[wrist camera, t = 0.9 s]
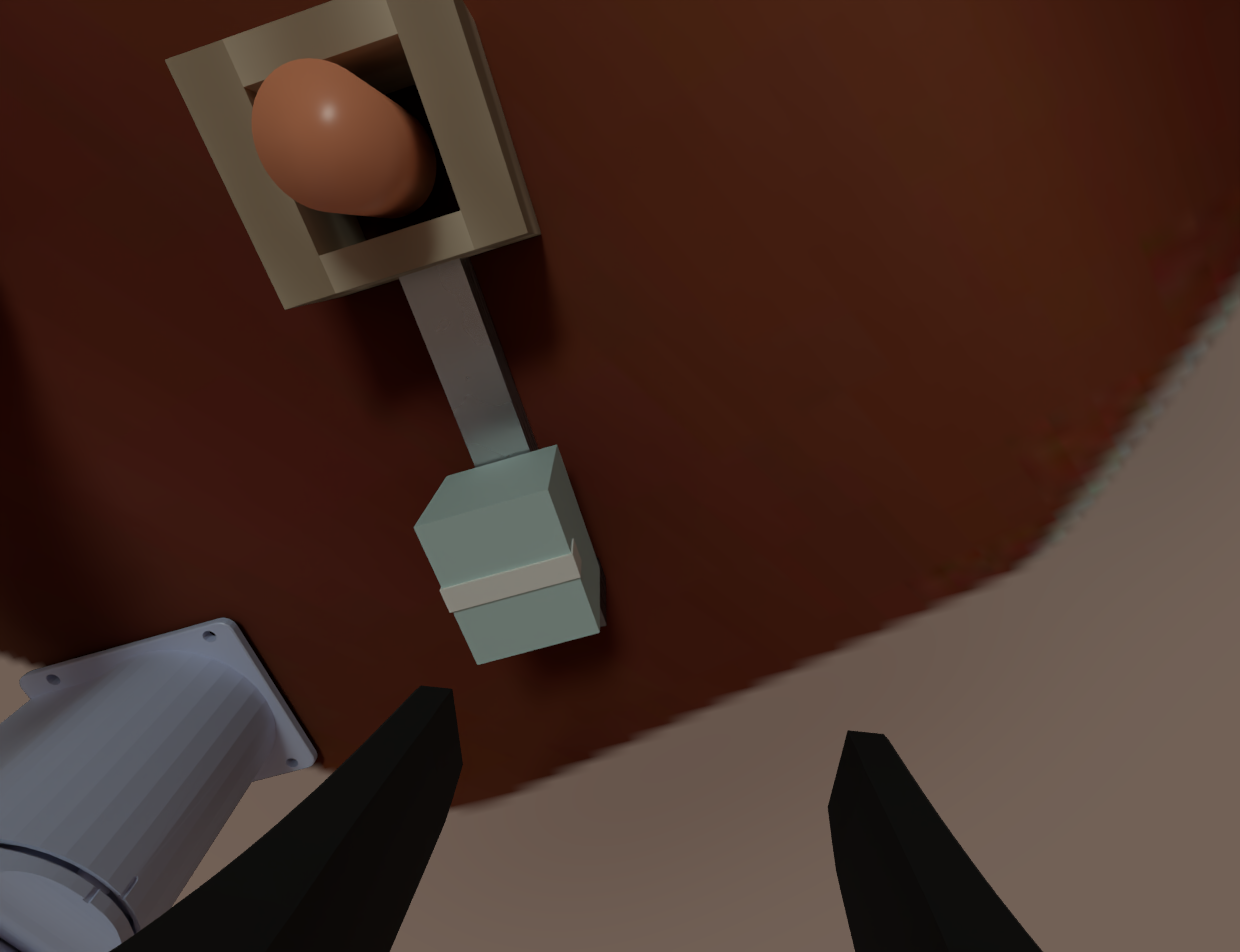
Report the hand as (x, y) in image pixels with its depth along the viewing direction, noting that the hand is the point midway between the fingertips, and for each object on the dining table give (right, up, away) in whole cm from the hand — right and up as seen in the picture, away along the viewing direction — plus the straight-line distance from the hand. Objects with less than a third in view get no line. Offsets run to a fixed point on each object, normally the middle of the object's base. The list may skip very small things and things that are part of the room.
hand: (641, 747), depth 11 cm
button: (-7, +14, +6) cm, 17 cm away
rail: (-4, +6, +11) cm, 14 cm away
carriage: (-4, +3, +10) cm, 12 cm away
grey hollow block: (-7, +15, +8) cm, 18 cm away
